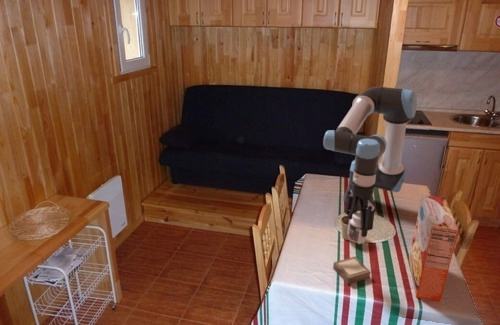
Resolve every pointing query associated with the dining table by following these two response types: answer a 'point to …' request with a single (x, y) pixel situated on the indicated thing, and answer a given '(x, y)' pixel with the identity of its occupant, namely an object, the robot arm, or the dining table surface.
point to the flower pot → (345, 227)
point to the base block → (351, 270)
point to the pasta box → (432, 247)
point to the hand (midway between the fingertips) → (355, 237)
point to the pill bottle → (355, 227)
